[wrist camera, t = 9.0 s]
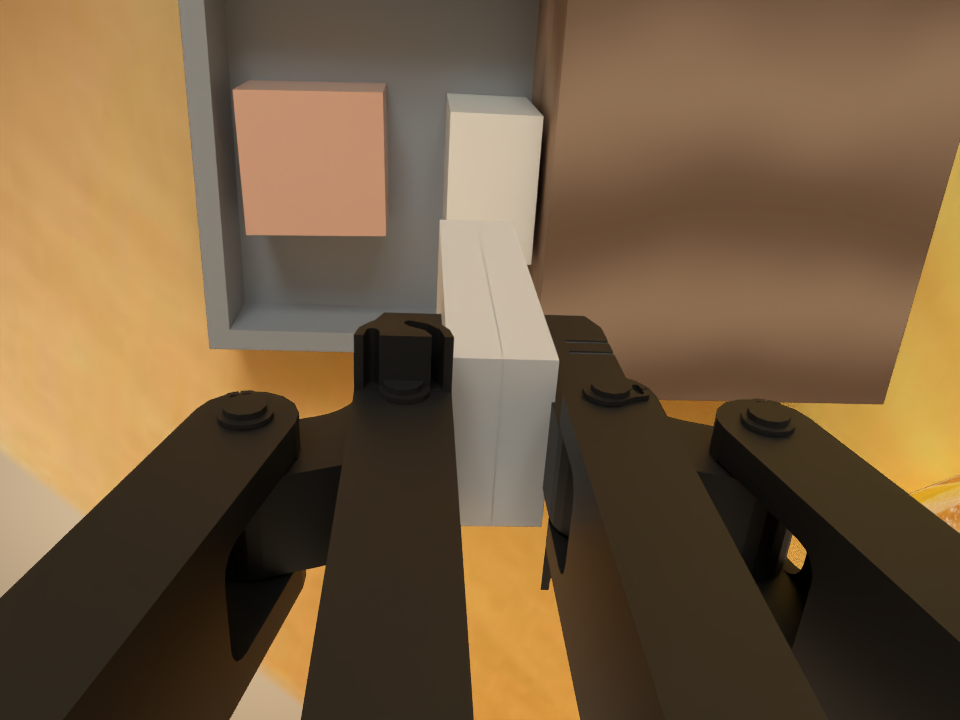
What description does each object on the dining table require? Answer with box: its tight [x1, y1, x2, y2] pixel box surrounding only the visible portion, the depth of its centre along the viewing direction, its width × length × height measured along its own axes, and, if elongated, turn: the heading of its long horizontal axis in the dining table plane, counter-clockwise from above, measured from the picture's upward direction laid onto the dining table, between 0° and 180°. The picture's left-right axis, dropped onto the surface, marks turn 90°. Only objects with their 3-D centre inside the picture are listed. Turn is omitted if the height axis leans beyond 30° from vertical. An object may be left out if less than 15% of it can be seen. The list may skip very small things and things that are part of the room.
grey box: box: [178, 0, 540, 352], centre depth 30 cm, size 14×12×4 cm
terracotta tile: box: [232, 80, 389, 236], centre depth 30 cm, size 5×5×3 cm
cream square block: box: [442, 93, 544, 265], centre depth 30 cm, size 5×5×3 cm
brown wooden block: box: [527, 0, 960, 404], centre depth 30 cm, size 14×13×7 cm
